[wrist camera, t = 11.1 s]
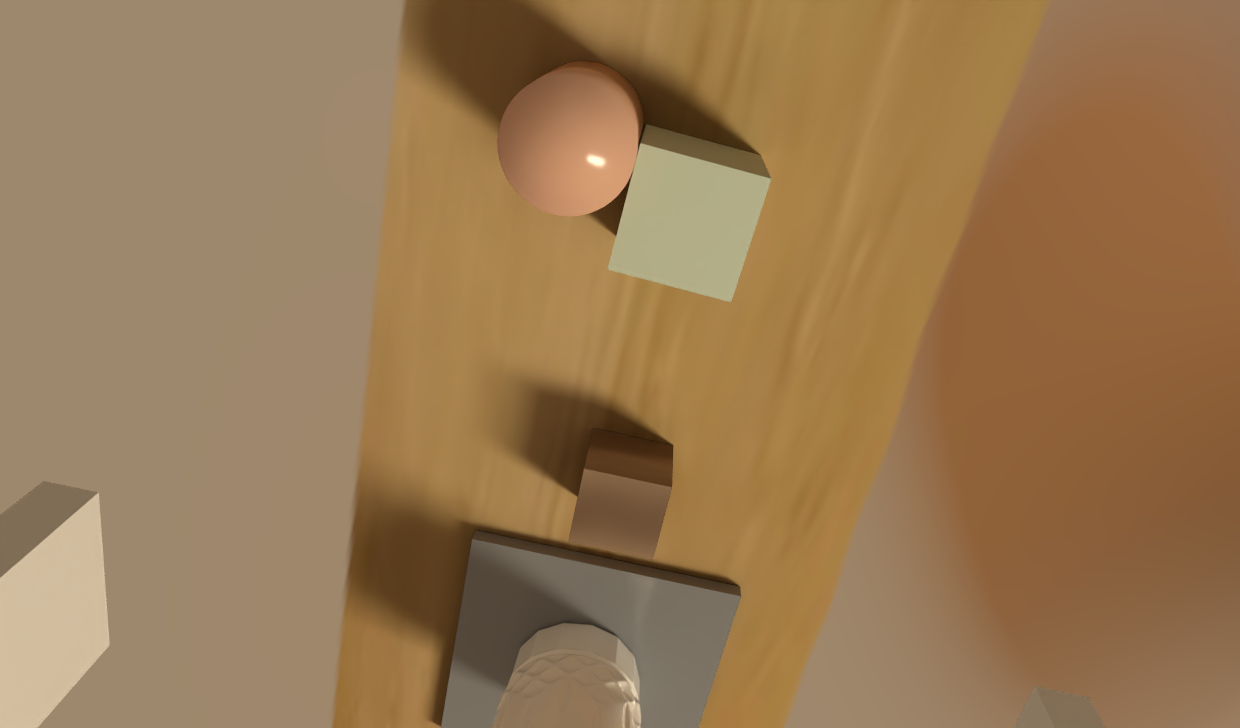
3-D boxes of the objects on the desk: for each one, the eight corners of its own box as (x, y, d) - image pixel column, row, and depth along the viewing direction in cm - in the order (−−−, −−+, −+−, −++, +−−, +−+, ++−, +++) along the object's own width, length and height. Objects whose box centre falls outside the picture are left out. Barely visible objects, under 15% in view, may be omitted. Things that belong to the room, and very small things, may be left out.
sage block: (646, 123, 37) (640, 143, 32) (760, 155, 37) (771, 178, 32) (616, 236, 39) (607, 269, 34) (725, 265, 39) (731, 302, 34)
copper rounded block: (591, 34, 35) (573, 42, 30) (668, 132, 37) (665, 157, 31) (501, 115, 37) (469, 137, 31) (578, 206, 38) (560, 243, 33)
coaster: (475, 529, 45) (471, 539, 45) (739, 586, 46) (740, 596, 45) (442, 728, 51) (439, 738, 50) (678, 777, 51) (678, 789, 50)
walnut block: (592, 427, 43) (583, 468, 39) (673, 444, 43) (672, 487, 39) (578, 496, 44) (568, 542, 41) (655, 512, 44) (652, 560, 41)
